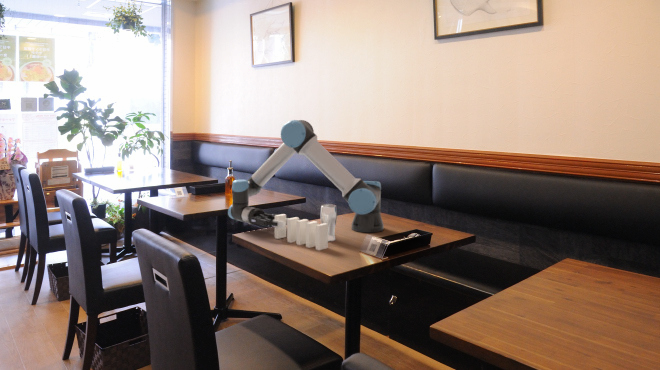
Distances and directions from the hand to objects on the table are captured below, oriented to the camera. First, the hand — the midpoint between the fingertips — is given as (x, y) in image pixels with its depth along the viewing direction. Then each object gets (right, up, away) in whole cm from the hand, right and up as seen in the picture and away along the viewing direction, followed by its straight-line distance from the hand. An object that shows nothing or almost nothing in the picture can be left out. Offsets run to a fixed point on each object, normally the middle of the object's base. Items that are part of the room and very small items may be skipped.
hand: (288, 224), depth 208 cm
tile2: (+2, -7, -1) cm, 8 cm away
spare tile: (-4, -6, +4) cm, 9 cm away
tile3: (+6, -8, -4) cm, 11 cm away
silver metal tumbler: (+17, -7, +2) cm, 19 cm away
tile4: (+10, -8, -8) cm, 15 cm away
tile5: (+14, -9, -12) cm, 21 cm away
